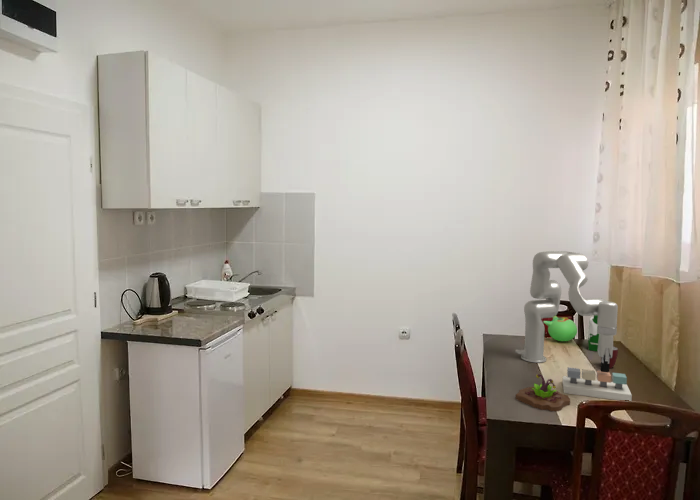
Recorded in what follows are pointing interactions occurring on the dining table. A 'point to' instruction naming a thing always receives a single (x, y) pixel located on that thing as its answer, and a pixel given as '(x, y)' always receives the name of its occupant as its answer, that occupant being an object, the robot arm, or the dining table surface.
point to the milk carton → (593, 334)
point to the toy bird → (561, 328)
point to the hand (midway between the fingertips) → (604, 371)
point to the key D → (619, 380)
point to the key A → (573, 374)
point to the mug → (613, 357)
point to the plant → (543, 396)
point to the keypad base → (596, 389)
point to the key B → (588, 376)
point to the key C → (603, 378)
